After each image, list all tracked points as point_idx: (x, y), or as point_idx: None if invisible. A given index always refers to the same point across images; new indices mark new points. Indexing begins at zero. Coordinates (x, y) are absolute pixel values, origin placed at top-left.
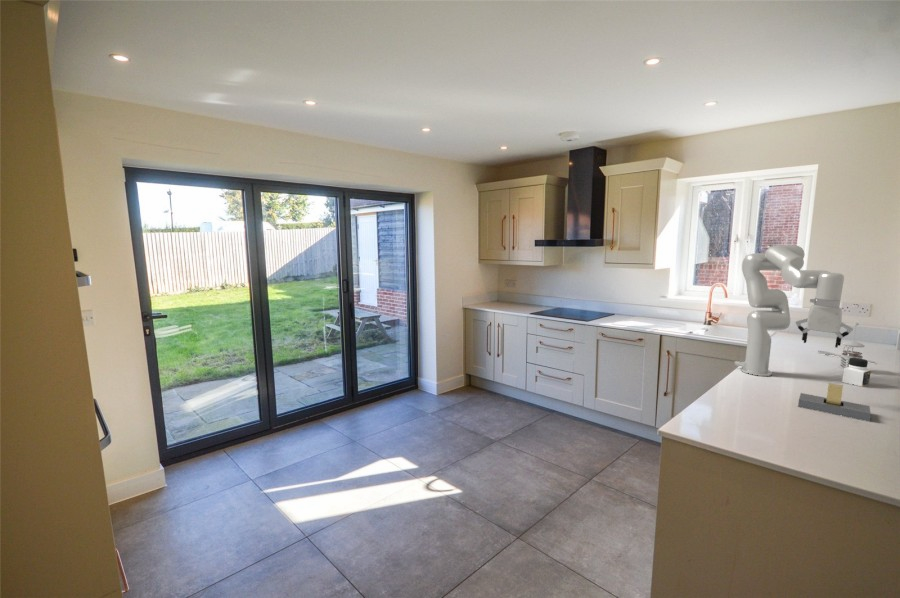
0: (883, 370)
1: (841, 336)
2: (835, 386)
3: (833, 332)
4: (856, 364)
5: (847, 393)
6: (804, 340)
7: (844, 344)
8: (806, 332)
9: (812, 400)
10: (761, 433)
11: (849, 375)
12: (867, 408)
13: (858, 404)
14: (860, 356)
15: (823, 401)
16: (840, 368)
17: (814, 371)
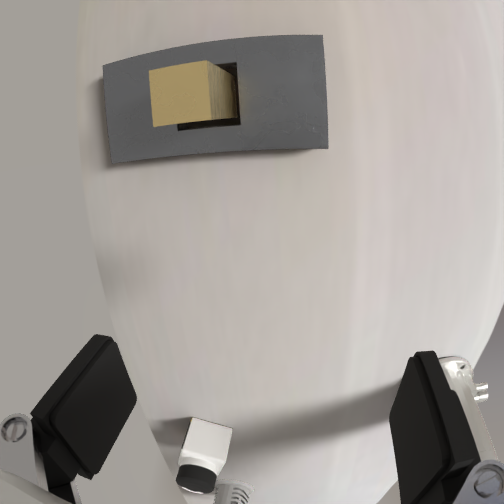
0: (193, 496)
1: (6, 430)
2: (177, 66)
3: (10, 480)
4: (196, 470)
5: (205, 348)
6: (437, 371)
7: None
8: (447, 494)
9: (275, 60)
10: None
11: (215, 443)
12: (112, 123)
13: (137, 152)
14: None
15: (238, 80)
16: (248, 488)
17: (292, 465)
